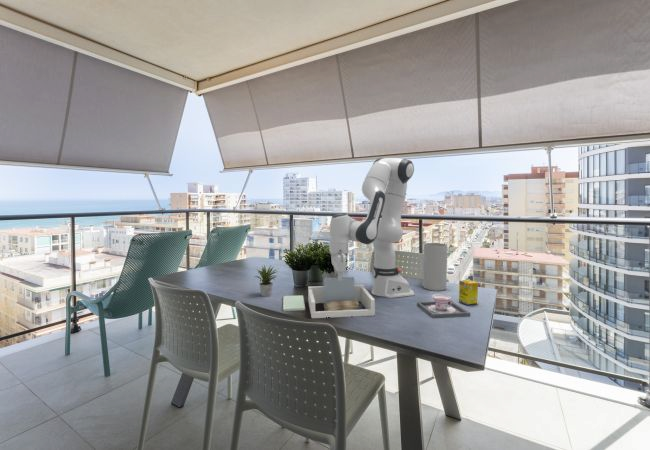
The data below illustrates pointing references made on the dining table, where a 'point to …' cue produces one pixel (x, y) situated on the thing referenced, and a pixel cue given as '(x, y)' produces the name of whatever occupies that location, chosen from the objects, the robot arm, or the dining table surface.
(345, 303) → the offcut stack
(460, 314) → the coaster tray
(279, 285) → the dining table surface
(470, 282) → the supplement box
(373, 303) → the white open bin
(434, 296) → the teacup
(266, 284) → the house plant
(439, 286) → the cylinder vase
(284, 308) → the sage board
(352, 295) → the light grey square panel
